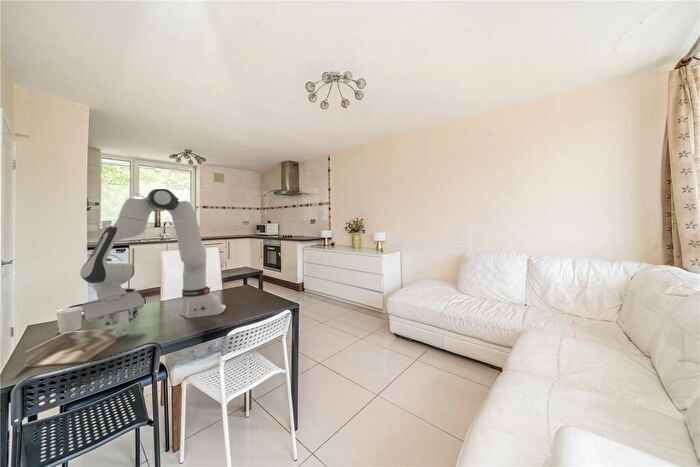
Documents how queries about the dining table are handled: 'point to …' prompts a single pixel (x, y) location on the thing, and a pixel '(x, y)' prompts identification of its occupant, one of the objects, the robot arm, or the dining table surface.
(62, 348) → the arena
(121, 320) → the angle bracket
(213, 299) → the robot arm
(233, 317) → the dining table surface
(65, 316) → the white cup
